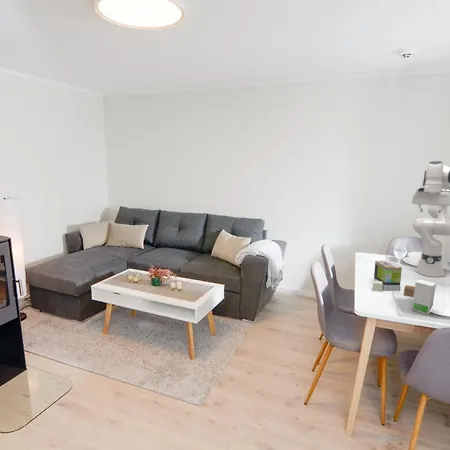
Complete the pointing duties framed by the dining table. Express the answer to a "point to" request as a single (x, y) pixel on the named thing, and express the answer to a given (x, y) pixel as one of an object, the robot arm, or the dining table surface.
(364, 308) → the dining table surface
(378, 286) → the sage block
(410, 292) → the walnut block
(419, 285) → the skincare box
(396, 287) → the tea box
